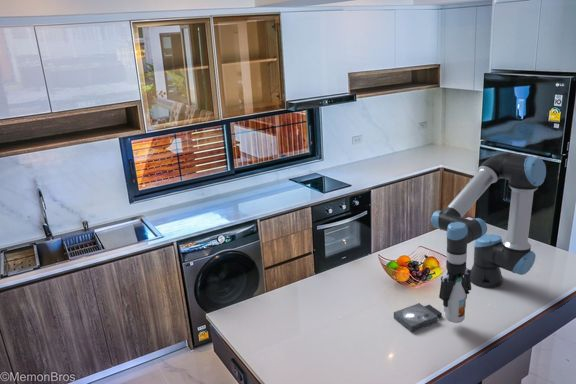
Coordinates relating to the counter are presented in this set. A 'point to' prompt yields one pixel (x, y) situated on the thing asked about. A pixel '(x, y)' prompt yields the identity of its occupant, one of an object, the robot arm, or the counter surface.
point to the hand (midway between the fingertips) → (454, 309)
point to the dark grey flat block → (417, 316)
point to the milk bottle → (457, 303)
